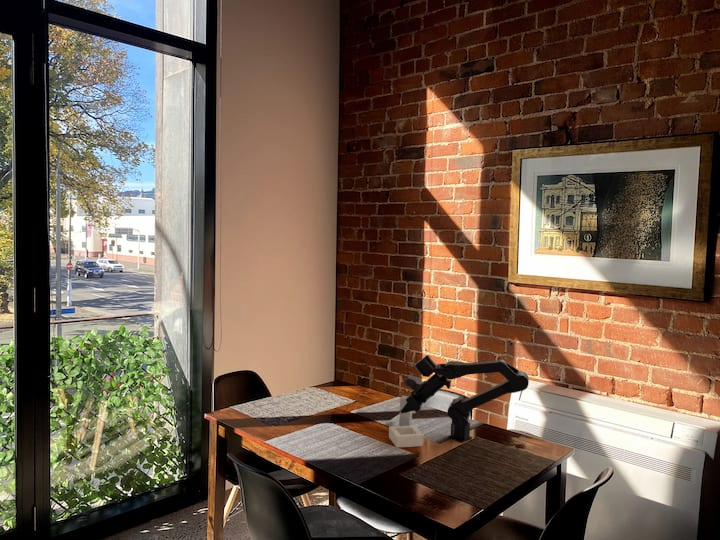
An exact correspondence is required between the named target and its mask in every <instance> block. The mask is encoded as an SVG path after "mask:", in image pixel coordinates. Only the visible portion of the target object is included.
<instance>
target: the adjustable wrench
mask: <svg viewBox="0 0 720 540" xmlns="http://www.w3.org/2000/svg"><path fill="white" fill-rule="evenodd" d="M415 413H417V412H415V411H412V414H415ZM399 419H400V413H399V414H397V415H395V417H393V418H391V419H390V420H389V421H387V422H386V424H387V426H389V427H395V425H397V424H399Z"/></svg>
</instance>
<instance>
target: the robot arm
mask: <svg viewBox="0 0 720 540" xmlns="http://www.w3.org/2000/svg"><path fill="white" fill-rule="evenodd" d="M413 366H414V368H415V369H416V370H417V371H418V372H419V374H420V375H421V376H422V377H423V378H426V377H427V378H428V379H426V380H424V381H421V380H420V379H418V378H417V377H415V376H413V375H411V374H409V375H408V376H407V378H406V379H405V381H404V382H403V384H404V385H405V387H408V388H411V393H410V395H408V397H407V398H406V401H407V404H406V405H405V406H404V407H403V409H402V410H401V411H400V410H399V413H400V412H401V413H402V414H403V413H407V412H411V411H415V412H416V413H419V411H420V410H421V409H422V408H423V404H426V403H427V401H428V400H429V399H430V398H432V397H434V396H435V394H436V393H439V391H440V390H441V389H443V388H444V387H446V388H447V389H448V390H449V389H450V388H451V387H452V380H455V379H459V378H462V377H465V376H468V375H478V374H491V373H500V374H501V375H502V376H503V377H504V378H505V380H504V381H502V382H500V383H498V384H496V385H493V386H492V387H489V388H488V389H485V390H484V391H481V392H478V393H476V394H475V395H472V396H470V397H464V395H460V396H459V397H457V398H453V399H452V401H451V402H450V404H449V405H448V408H447V411H446V412H447V416H448V417H449V419H451V424H450V435H448V438H450V439H452V440H455V441H457V442H460V443H464V442H466V441H469V440H471V439H473V436H470V432H471V423H470V422H469V421H470V420H469V419H470V417H471V413H470V412H471V411H472V410H474V409H475V408H477V407H480V406H482V405H484V404H487V403H489V402H491V401H493V400H494V401H495V400H496V399H497V398H500V397H502V396H504V395H507V394H515V393H518V392H524V391H525V390H527V388H528V386H529V382H530V381H529V380H530V379H529V375H528V374H527V373H526V372H524V371H522V370H518V368H516V367H514V366H513V365H512V364H510V363H509V362H507V361H505V359H501V358H500V359H498V360H497V359H496V360H488V361H487V360H486V361H476V362H463V361H459V360H457V361H455V360H454V361H453V360H450V361H447V362H446V363H437V364H436V362H435V361H433V359H432V357H431V356H430V354H427V355H425V356H424V357H423V358H420V359H419V360H418V362H416V363H415V364H414V365H413ZM432 374H433V375H432ZM431 375H432V376H431Z"/></svg>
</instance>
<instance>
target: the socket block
mask: <svg viewBox="0 0 720 540" xmlns="http://www.w3.org/2000/svg"><path fill="white" fill-rule="evenodd" d="M424 437H425V435H424V434H423V433H422V432H421V430H420V429H419V428H418V427H417V426H416V425H412V426H399V425H398V426H395V425H394V426H389V428H388V439H389V440H390V442H392V443H393V445H394V446H395V447H396V448H410V447H413V448H414V447H424Z"/></svg>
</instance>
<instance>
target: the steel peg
mask: <svg viewBox="0 0 720 540" xmlns="http://www.w3.org/2000/svg"><path fill="white" fill-rule="evenodd" d="M408 396H409V395H408ZM408 396H407V395H401V397H400V399H399V414H400V419H399V422H398V426H413V424H412V423H413V413H412V411H411V412H407V413H403V414H402V413H401V412H400V411H401V410H402V409H403V407H404V406H405V405H406V404H407V401H406V398H407V397H408Z"/></svg>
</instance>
